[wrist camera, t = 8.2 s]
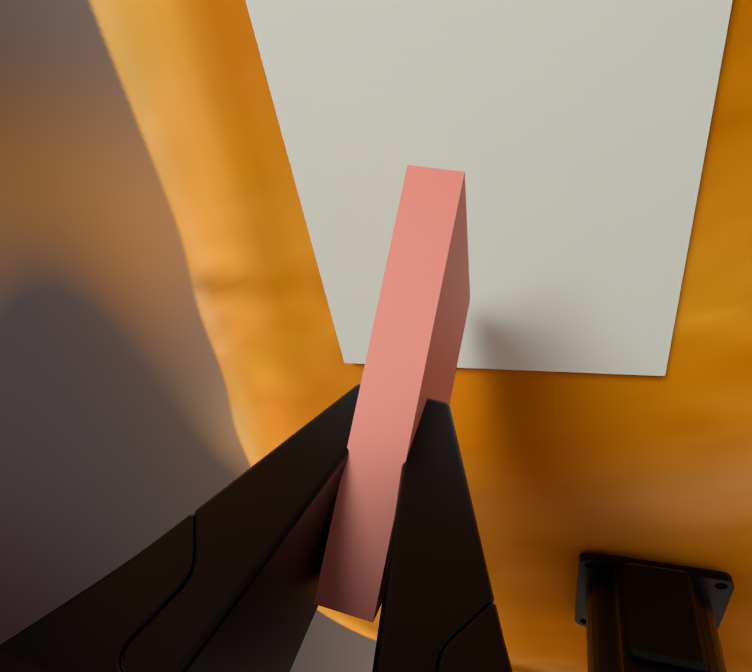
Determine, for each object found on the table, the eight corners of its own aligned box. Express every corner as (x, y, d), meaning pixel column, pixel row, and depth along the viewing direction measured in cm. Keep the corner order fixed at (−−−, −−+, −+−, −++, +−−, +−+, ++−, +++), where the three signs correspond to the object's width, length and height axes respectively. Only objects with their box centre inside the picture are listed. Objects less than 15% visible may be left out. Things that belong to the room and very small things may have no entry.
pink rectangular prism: (431, 493, 15) (372, 621, 6) (405, 487, 15) (313, 603, 7) (470, 298, 16) (464, 171, 7) (444, 294, 16) (407, 165, 7)
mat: (662, 365, 18) (665, 375, 18) (348, 354, 22) (344, 363, 22) (756, -177, 10) (765, -183, 10) (244, -43, 14) (233, -42, 14)
